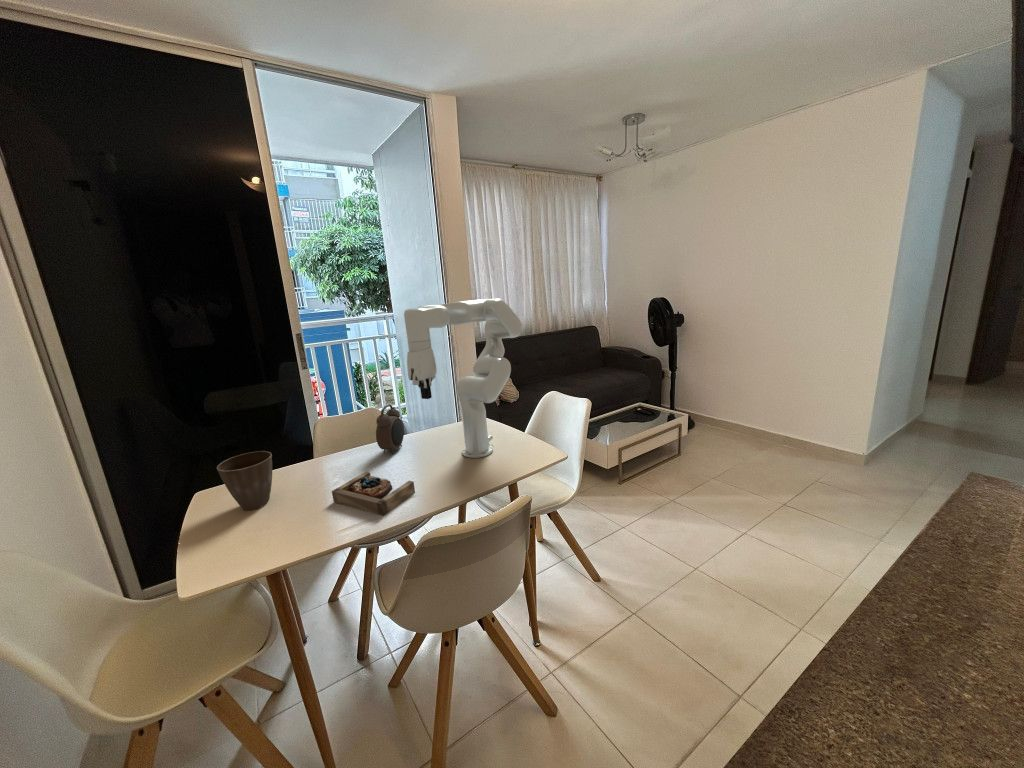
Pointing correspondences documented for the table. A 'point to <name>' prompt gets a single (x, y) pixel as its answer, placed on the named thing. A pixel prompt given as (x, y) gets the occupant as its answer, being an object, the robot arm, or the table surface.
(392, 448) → the alarm clock
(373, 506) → the wooden u-shaped frame
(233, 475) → the plant pot
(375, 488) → the pastry
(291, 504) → the table surface
